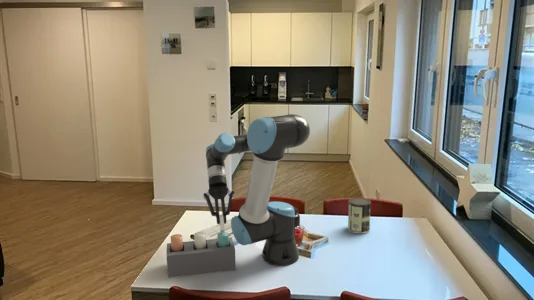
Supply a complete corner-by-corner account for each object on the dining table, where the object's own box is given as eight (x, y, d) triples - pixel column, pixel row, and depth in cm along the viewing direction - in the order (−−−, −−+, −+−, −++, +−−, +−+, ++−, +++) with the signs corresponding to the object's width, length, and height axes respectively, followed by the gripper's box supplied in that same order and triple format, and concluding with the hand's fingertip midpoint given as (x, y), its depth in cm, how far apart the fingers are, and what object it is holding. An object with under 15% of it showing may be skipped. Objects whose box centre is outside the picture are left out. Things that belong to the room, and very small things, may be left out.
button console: (232, 257, 186) (231, 237, 184) (235, 270, 176) (235, 249, 174) (168, 264, 182) (166, 243, 179) (167, 277, 171) (166, 255, 169)
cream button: (205, 245, 179) (205, 231, 178) (206, 250, 175) (205, 236, 174) (194, 246, 179) (193, 232, 177) (195, 251, 174) (194, 237, 173)
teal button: (228, 245, 181) (227, 231, 180) (229, 250, 177) (229, 236, 176) (217, 246, 181) (216, 232, 179) (218, 251, 176) (217, 237, 175)
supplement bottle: (298, 236, 206) (298, 211, 203) (284, 235, 207) (283, 210, 204) (300, 230, 212) (300, 206, 209) (286, 229, 213) (286, 205, 211)
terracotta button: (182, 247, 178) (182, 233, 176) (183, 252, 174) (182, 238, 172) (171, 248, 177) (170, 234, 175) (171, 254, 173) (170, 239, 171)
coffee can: (367, 224, 217) (368, 197, 214) (371, 233, 207) (373, 204, 204) (346, 224, 218) (346, 197, 214) (349, 233, 208) (350, 205, 204)
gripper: (232, 181, 194) (238, 233, 182) (201, 183, 192) (205, 236, 180) (233, 173, 188) (239, 226, 176) (201, 175, 185) (206, 229, 173)
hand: (222, 231), depth 178 cm, fingers closed
